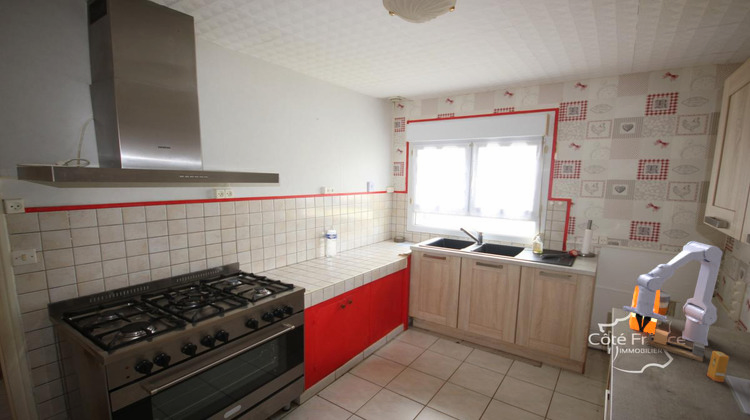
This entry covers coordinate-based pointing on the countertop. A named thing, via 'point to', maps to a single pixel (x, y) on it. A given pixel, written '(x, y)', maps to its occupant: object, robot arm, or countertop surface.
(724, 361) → the supplement box
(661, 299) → the reusable coffee cup
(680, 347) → the cord board
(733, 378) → the countertop surface
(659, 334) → the tan small block
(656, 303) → the orange juice
